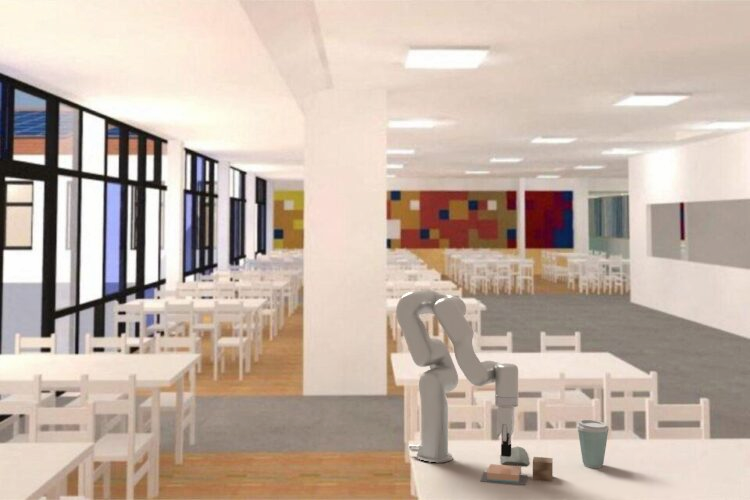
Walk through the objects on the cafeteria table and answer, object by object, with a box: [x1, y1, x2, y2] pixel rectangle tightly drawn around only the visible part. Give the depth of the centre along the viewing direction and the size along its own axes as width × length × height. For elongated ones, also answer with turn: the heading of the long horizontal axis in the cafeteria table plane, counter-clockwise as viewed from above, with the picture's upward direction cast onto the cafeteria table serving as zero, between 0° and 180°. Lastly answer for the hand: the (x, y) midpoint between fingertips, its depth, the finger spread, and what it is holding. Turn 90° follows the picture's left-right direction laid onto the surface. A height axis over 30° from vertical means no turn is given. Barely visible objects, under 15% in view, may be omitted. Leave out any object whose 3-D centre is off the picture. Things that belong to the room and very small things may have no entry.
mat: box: [480, 471, 528, 486], centre depth 236 cm, size 14×10×1 cm
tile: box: [486, 463, 522, 483], centre depth 237 cm, size 10×2×10 cm
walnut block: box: [532, 456, 554, 483], centre depth 237 cm, size 6×6×6 cm
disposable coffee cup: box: [576, 418, 610, 469], centre depth 251 cm, size 11×11×15 cm
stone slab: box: [499, 446, 530, 467], centre depth 262 cm, size 22×3×10 cm
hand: (506, 455), depth 245 cm, fingers closed
